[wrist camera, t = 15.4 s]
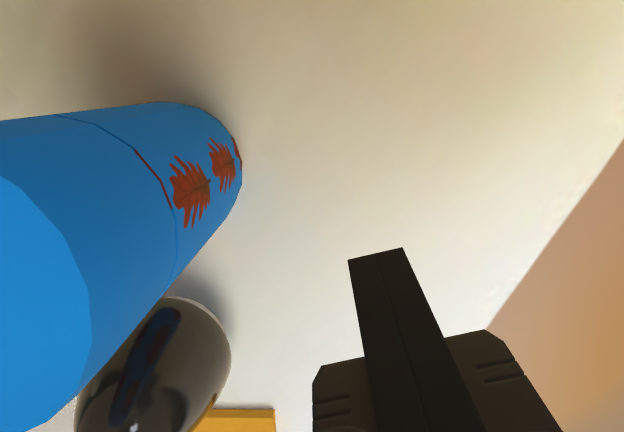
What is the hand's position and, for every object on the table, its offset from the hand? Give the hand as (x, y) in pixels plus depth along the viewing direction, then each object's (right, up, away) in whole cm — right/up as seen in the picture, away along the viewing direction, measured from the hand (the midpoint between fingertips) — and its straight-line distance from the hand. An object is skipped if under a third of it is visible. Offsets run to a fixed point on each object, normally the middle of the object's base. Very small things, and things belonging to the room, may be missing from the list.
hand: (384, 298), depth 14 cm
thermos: (-13, +6, +26) cm, 30 cm away
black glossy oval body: (-13, -8, +30) cm, 34 cm away
